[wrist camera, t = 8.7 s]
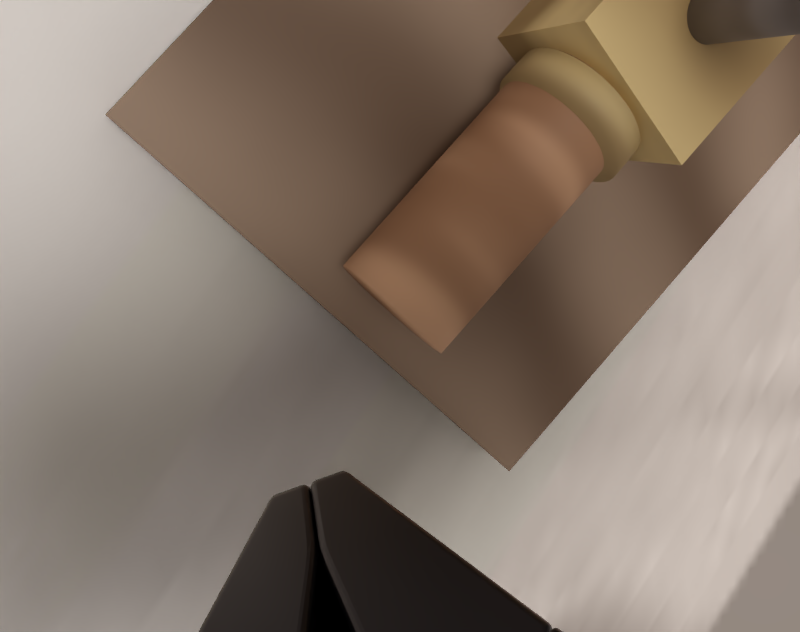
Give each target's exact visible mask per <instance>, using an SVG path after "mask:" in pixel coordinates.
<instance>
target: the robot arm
mask: <svg viewBox="0 0 800 632" xmlns="http://www.w3.org/2000/svg"><path fill="white" fill-rule="evenodd" d="M199 632H562V631H561V630H560V629H558V628H554V629H552V627H551V625H550V624H549V623H548V622H547V621H546V620H544V619H543V618H542V617H540V616H539V615H538V614H536V613H535V612H534V611H532V610H531V609H530V608H528V607H527V606H526V605H524V604H523V603H522V602H520V601H519V600H518V599H516V598H515V597H514V596H512V595H511V594H510V593H508V592H507V591H506V590H504V589H503V588H502V587H500V586H499V585H498V584H496V583H495V582H494V581H492V580H491V579H490V578H488V577H487V576H486V575H484V574H483V573H482V572H480V571H479V570H478V569H476V568H475V567H474V566H472V565H471V564H470V563H468V562H467V561H466V560H464V559H463V558H462V557H460V556H459V555H458V554H456V553H455V552H454V551H452V550H451V549H450V548H448V547H447V546H446V545H444V544H443V543H442V542H440V541H439V540H438V539H436V538H435V537H433V536H432V535H431V534H429V533H428V532H427V531H425V530H424V529H423V528H421V527H420V526H419V525H417V524H416V523H415V522H413V521H412V520H411V519H409V518H408V517H407V516H405V515H404V514H403V513H401V512H400V511H399V510H397V509H396V508H395V507H393V506H392V505H391V504H389V503H388V502H387V501H385V500H384V499H383V498H381V497H380V496H379V495H377V494H376V493H375V492H373V491H372V490H371V489H369V488H368V487H367V486H365V485H364V484H363V483H361V482H360V481H359V480H357V479H356V478H355V477H353V476H352V475H351V474H349V473H348V472H345V471H341V472H338V473H335V474H332V475H330V476H327V477H324V478H321V479H318V480H316V481H314V482H313V483H312V485H311V489H310V488H309V487H308V486H306V485H301V486H298V487H296V488H293V489H290V490H287V491H284V492H281V493H279V494H276V495H274V496H273V497H272V498H271V499H270V501H269V503H268V504H267V506H266V508H265V510H264V512H263V514H262V516H261V517H260V519H259V521H258V523H257V525H256V527H255V528H254V530H253V532H252V534H251V536H250V538H249V540H248V541H247V543H246V545H245V547H244V549H243V551H242V553H241V554H240V556H239V558H238V560H237V562H236V564H235V565H234V567H233V569H232V571H231V573H230V575H229V577H228V578H227V580H226V582H225V584H224V586H223V588H222V590H221V591H220V593H219V595H218V597H217V599H216V601H215V602H214V604H213V606H212V608H211V610H210V612H209V614H208V615H207V617H206V619H205V621H204V623H203V625H202V627H201V628H200V630H199Z"/></svg>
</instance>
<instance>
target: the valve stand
mask: <svg viewBox="0 0 800 632" xmlns="http://www.w3.org/2000/svg"><path fill="white" fill-rule="evenodd" d="M106 116H108V117H109V118H110V119H111V120H112V121H113V122H114V123H116V124H117V125H118V126H119V127H120V128H121V129H122V130H123V131H125V132H126V133H127V134H128V135H129V136H130V137H131V138H133V139H134V140H135V141H136V142H137V143H138V144H139V145H140V146H142V147H143V148H144V149H145V150H146V151H147V152H148V153H149V154H151V155H152V156H153V157H154V158H155V159H156V160H157V161H159V162H160V163H161V164H162V165H163V166H164V167H165V168H166V169H168V170H169V171H170V172H171V173H172V174H173V175H174V176H176V177H177V178H178V179H179V180H180V181H181V182H182V183H183V184H185V185H186V186H187V187H188V188H189V189H190V190H191V191H193V192H194V193H195V194H196V195H197V196H198V197H199V198H200V199H202V200H203V201H204V202H205V203H206V204H207V205H208V206H209V207H211V208H212V209H213V210H214V211H215V212H216V213H217V214H219V215H220V216H221V217H222V218H223V219H224V220H225V221H226V222H228V223H229V224H230V225H231V226H232V227H233V228H234V229H236V230H237V231H238V232H239V233H240V234H241V235H242V236H243V237H245V238H246V239H247V240H248V241H249V242H250V243H251V244H253V245H254V246H255V247H256V248H257V249H258V250H259V251H260V252H262V253H263V254H264V255H265V256H266V257H267V258H268V259H269V260H271V261H272V262H273V263H274V264H275V265H276V266H277V267H279V268H280V269H281V270H282V271H283V272H284V273H285V274H286V275H288V276H289V277H290V278H291V279H292V280H293V281H294V282H296V283H297V284H298V285H299V286H300V287H301V288H302V289H303V290H305V291H306V292H307V293H308V294H309V295H310V296H311V297H313V298H314V299H315V300H316V301H317V302H318V303H319V304H320V305H322V306H323V307H324V308H325V309H326V310H327V311H328V312H329V313H331V314H332V315H333V316H334V317H335V318H336V319H337V320H339V321H340V322H341V323H342V324H343V325H344V326H345V327H346V328H348V329H349V330H350V331H351V332H352V333H353V334H354V335H356V336H357V337H358V338H359V339H360V340H361V341H362V342H363V343H365V344H366V345H367V346H368V347H369V348H370V349H371V350H373V351H374V352H375V353H376V354H377V355H378V356H379V357H380V358H382V359H383V360H384V361H385V362H386V363H387V364H388V365H389V366H391V367H392V368H393V369H394V370H395V371H396V372H397V373H399V374H400V375H401V376H402V377H403V378H404V379H405V380H406V381H408V382H409V383H410V384H411V385H412V386H413V387H414V388H416V389H417V390H418V391H419V392H420V393H421V394H422V395H423V396H425V397H426V398H427V399H428V400H429V401H430V402H431V403H433V404H434V405H435V406H436V407H437V408H438V409H439V410H440V411H442V412H443V413H444V414H445V415H446V416H447V417H448V418H449V419H451V420H452V421H453V422H454V423H455V424H456V425H457V426H459V427H460V428H461V429H462V430H463V431H464V432H465V433H466V434H468V435H469V436H470V437H471V438H472V439H473V440H474V441H476V442H477V443H478V444H479V445H480V446H481V447H482V448H483V449H485V450H486V451H487V452H488V453H489V454H490V455H491V456H493V457H494V458H495V459H496V460H497V461H498V462H499V463H500V464H502V465H503V466H504V467H505V468H506V469H507V470H508V471H510V470H511V468H512V467H513V466H514V465H515V464H516V463H517V461H518V460H519V459H520V458H521V457H522V456H523V454H524V453H525V452H526V451H527V450H528V449H529V448H530V446H531V445H532V444H533V443H534V442H535V441H536V439H537V438H538V437H539V436H540V435H541V434H542V432H543V431H544V430H545V429H546V428H547V427H548V425H549V424H550V423H551V422H552V421H553V420H554V418H555V417H556V416H557V415H558V414H559V413H560V411H561V410H562V409H563V408H564V407H565V406H566V404H567V403H568V402H569V401H570V400H571V399H572V398H573V396H574V395H575V394H576V393H577V392H578V391H579V389H580V388H581V387H582V386H583V385H584V384H585V382H586V381H587V380H588V379H589V378H590V377H591V375H592V374H593V373H594V372H595V371H596V370H597V368H598V367H599V366H600V365H601V364H602V363H603V361H604V360H605V359H606V358H607V357H608V356H609V354H610V353H611V352H612V351H613V350H614V349H615V348H616V346H617V345H618V344H619V343H620V342H621V341H622V339H623V338H624V337H625V336H626V335H627V334H628V332H629V331H630V330H631V329H632V328H633V327H634V325H635V324H636V323H637V322H638V321H639V320H640V318H641V317H642V316H643V315H644V314H645V313H646V311H647V310H648V309H649V308H650V307H651V306H652V304H653V303H654V302H655V301H656V300H657V299H658V298H659V296H660V295H661V294H662V293H663V292H664V291H665V289H666V288H667V287H668V286H669V285H670V284H671V282H672V281H673V280H674V279H675V278H676V277H677V275H678V274H679V273H680V272H681V271H682V270H683V268H684V267H685V266H686V265H687V264H688V263H689V261H690V260H691V259H692V258H693V257H694V256H695V255H696V253H697V252H698V251H699V250H700V249H701V248H702V246H703V245H704V244H705V243H706V242H707V241H708V239H709V238H710V237H711V236H712V235H713V234H714V232H715V231H716V230H717V229H718V228H719V227H720V225H721V224H722V223H723V222H724V221H725V220H726V218H727V217H728V216H729V215H730V214H731V213H732V211H733V210H734V209H735V208H736V207H737V206H738V205H739V203H740V202H741V201H742V200H743V199H744V198H745V196H746V195H747V194H748V193H749V192H750V191H751V189H752V188H753V187H754V186H755V185H756V184H757V182H758V181H759V180H760V179H761V178H762V177H763V175H764V174H765V173H766V172H767V171H768V170H769V168H770V167H771V166H772V165H773V164H774V163H775V161H776V160H777V159H778V158H779V157H780V156H781V155H782V153H783V152H784V151H785V150H786V149H787V148H788V146H789V145H790V144H791V143H792V142H793V141H794V139H795V138H796V137H797V136H798V135H799V134H800V0H213V1H212V2H211V3H210V4H209V5H208V6H207V7H206V8H205V9H204V10H203V11H202V13H201V14H200V15H199V16H198V17H197V18H196V19H195V20H194V21H193V22H192V23H191V24H190V25H189V26H188V27H187V28H186V30H185V31H184V32H183V33H182V34H181V35H180V36H179V37H178V38H177V39H176V40H175V41H174V42H173V43H172V44H171V45H170V47H169V48H168V49H167V50H166V51H165V52H164V53H163V54H162V55H161V56H160V57H159V58H158V59H157V60H156V61H155V63H154V64H153V65H152V66H151V67H150V68H149V69H148V70H147V71H146V72H145V73H144V74H143V75H142V76H141V77H140V78H139V80H138V81H137V82H136V83H135V84H134V85H133V86H132V87H131V88H130V89H129V90H128V91H127V92H126V93H125V94H124V95H123V97H122V98H121V99H120V100H119V101H118V102H117V103H116V104H115V105H114V106H113V107H112V108H111V109H110V110H109V111H108V112H107V114H106Z"/></svg>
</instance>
